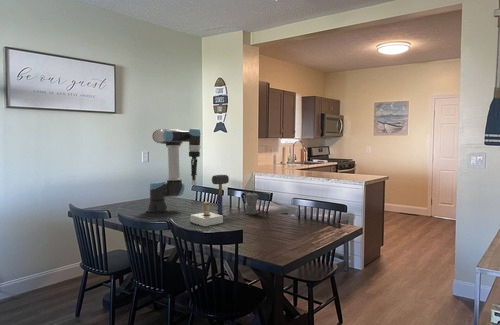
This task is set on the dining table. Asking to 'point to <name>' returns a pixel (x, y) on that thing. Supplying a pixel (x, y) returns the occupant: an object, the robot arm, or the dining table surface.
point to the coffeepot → (250, 202)
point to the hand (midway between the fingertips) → (193, 184)
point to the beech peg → (206, 208)
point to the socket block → (206, 219)
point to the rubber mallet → (220, 188)
